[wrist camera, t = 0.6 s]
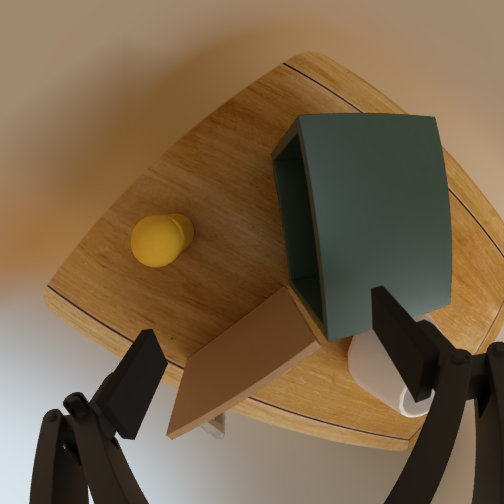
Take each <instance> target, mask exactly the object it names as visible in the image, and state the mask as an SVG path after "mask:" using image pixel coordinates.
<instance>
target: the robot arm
mask: <svg viewBox="0 0 504 504" xmlns="http://www.w3.org/2000/svg"><path fill="white" fill-rule="evenodd" d="M371 301H372V329H373V330H374V332H375V334H376V335H377V337H378V339H379V340H380V342H381V343H382V345H383V347H384V348H385V350H386V352H387V353H388V355H389V357H390V359H391V360H392V362H393V364H394V365H395V367H396V369H397V371H398V372H399V374H400V376H401V378H402V379H403V381H404V383H405V385H406V386H407V388H408V390H409V392H410V394H411V395H412V397H413V399H414V401H415V403H418V402H420V401H423V400H425V399H428V398H430V397H431V393H432V389H433V390H434V391H435V395H434V398H433V400H432V403H431V406H430V409H429V412H428V414H427V417H426V420H425V422H424V425H423V427H422V430H421V432H420V435H419V437H418V439H417V441H416V444H415V446H414V448H413V450H412V453H411V455H410V457H409V459H408V461H407V463H406V465H405V467H404V469H403V471H402V473H401V475H400V476H399V478H398V480H397V482H396V484H395V485H394V487H393V489H392V491H391V492H390V494H389V496H388V497H387V499H386V501H385V502H384V504H430V503H431V501H432V498H433V497H434V494H435V492H436V490H437V488H438V486H439V483H440V481H441V478H442V476H443V473H444V471H445V468H446V466H447V463H448V460H449V457H450V455H451V452H452V449H453V446H454V443H455V440H456V436H457V433H458V430H459V426H460V422H461V419H462V415H463V411H464V407H465V402H466V400H471V399H474V406H475V423H476V464H475V479H474V490H473V498H472V504H504V343H503V342H494V343H492V344H490V345H489V347H488V348H487V352H486V353H483V354H478V355H471V353H470V352H468V351H467V350H463V349H456V348H455V347H454V346H453V345H452V344H451V343H450V342H449V340H448V339H447V338H446V337H445V336H444V335H443V334H442V333H441V332H440V331H439V330H438V328H437V327H436V326H435V325H434V324H433V323H431V322H429V321H427V320H425V319H424V320H421V321H418V322H416V321H415V320H414V319H413V318H412V317H411V316H410V315H409V314H408V312H407V311H406V310H405V309H404V308H403V307H402V306H401V305H400V304H399V302H398V301H397V300H396V299H395V298H394V297H393V296H392V295H391V294H390V293H389V292H388V290H387V289H386V288H385V287H384V286H379V287H375V288H371ZM167 365H168V363H167V360H166V358H165V356H164V354H163V352H162V350H161V347H160V345H159V343H158V341H157V338H156V336H155V334H154V331H153V329H147V330H142V331H141V332H140V334H139V335H138V337H137V338H136V340H135V341H134V343H133V344H132V346H131V347H130V348H129V350H128V351H127V353H126V354H125V356H124V357H123V359H122V361H121V362H120V363H119V365H118V366H117V368H116V369H115V371H114V372H112V373H111V374H109V375H108V376H107V377H106V378H105V379H104V381H103V383H102V385H100V387H99V388H98V389H99V390H97V392H96V393H95V394H94V396H93V398H92V399H91V401H90V402H88V401H87V399H86V398H85V396H84V395H83V393H80V392H75V393H72V394H70V395H68V396H67V397H66V398H65V400H64V402H63V405H64V407H65V408H66V409H67V411H68V412H69V414H70V415H63V414H62V413H61V411H60V410H59V409H52V410H50V411H48V412H47V413H46V414H45V416H44V418H43V421H42V425H41V429H40V434H39V439H38V444H37V449H36V454H35V460H34V467H33V473H32V481H31V490H30V502H29V504H89V497H88V486H89V489H90V492H91V495H92V498H93V501H94V504H149V503H148V501H147V500H146V498H145V496H144V494H143V492H142V491H141V489H140V487H139V485H138V483H137V481H136V479H135V477H134V475H133V473H132V471H131V469H130V467H129V465H128V463H127V461H126V459H125V456H124V454H123V452H122V450H121V447H120V445H119V443H118V440H117V439H116V438H115V437H114V436H115V433H116V432H118V433H119V435H120V436H121V437H122V438H123V439H132V440H135V437H136V435H137V433H138V430H139V428H140V426H141V423H142V421H143V419H144V416H145V414H146V412H147V410H148V407H149V405H150V403H151V400H152V398H153V396H154V394H155V391H156V389H157V387H158V385H159V382H160V380H161V378H162V376H163V374H164V371H165V369H166V367H167ZM63 446H64V447H65V449H64V447H63Z"/></svg>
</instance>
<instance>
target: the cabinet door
mask: <svg viewBox="0 0 504 504" xmlns="http://www.w3.org/2000/svg"><path fill="white" fill-rule="evenodd" d="M320 347H321V345H320V343H319V341H318V340H317V338H316V336H315V335H314V333H313V331H312V330H311V328H310V326H309V325H308V323H307V321H306V320H305V318H304V316H303V315H302V313H301V311H300V310H299V308H298V306H297V305H296V303H295V302H294V300H293V298H292V297H291V295H290V293H289V292H288V290H287V289H286V288H285V286H283V287H281V288H280V289H279V290H278V291H276V292H275V293H274V294H273V295H271V296H270V297H269V298H267V299H266V300H265V301H264V302H262V303H261V304H260V305H259V306H257V307H256V308H255V309H253V310H252V311H251V312H249V313H248V314H247V315H246V316H244V317H243V318H242V319H240V320H239V321H238V322H236V323H235V324H234V325H232V326H231V327H230V328H228V329H227V330H226V331H224V332H223V333H222V334H220V335H219V336H218V337H216V338H215V339H214V340H212V341H211V342H210V343H208V344H207V345H206V346H204V347H203V348H201V349H200V350H199V351H197V352H196V353H195V354H193V355H192V356H190V357H189V358H188V359H187V362H186V365H185V369H184V372H183V376H182V379H181V383H180V386H179V390H178V394H177V397H176V400H175V404H174V408H173V411H172V415H171V419H170V422H169V426H168V430H167V434H166V435H167V436H168V437H169V438H171V439H172V440H173V439H175V438H177V437H179V436H180V435H183V434H185V433H187V432H188V431H190V430H192V429H194V428H196V427H198V426H200V427H201V428H202V429H204V430H205V431H207V432H208V433H209V434H211V435H212V436H213V437H215V438H217V439H222V438H224V436H225V411H226V410H228V409H230V408H232V407H233V406H235V405H237V404H238V403H240V402H242V401H243V400H245V399H246V398H248V397H250V396H251V395H253V394H254V393H256V392H257V391H259V390H261V389H262V388H264V387H265V386H267V385H268V384H270V383H271V382H273V381H274V380H276V379H277V378H279V377H280V376H282V375H283V374H284V373H286V372H287V371H289V370H290V369H292V368H293V367H294V366H296V365H297V364H299V363H300V362H301V361H303V360H304V359H305V358H307V357H308V356H310V355H311V354H312V353H314V352H315V351H316V350H318V349H319V348H320ZM213 418H214V419H213Z"/></svg>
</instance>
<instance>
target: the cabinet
mask: <svg viewBox="0 0 504 504" xmlns="http://www.w3.org/2000/svg"><path fill="white" fill-rule="evenodd" d="M271 158H272V164H273V170H274V176H275V182H276V188H277V195H278V201H279V207H280V214H281V220H282V227H283V234H284V241H285V248H286V255H287V262H288V269H289V277H290V284H291V287H292V289H293V290H294V292H295V293H296V295H297V296H298V298H299V299H300V301H301V302H302V304H303V305H304V307H305V308H306V310H307V311H308V313H309V314H310V316H311V317H312V319H313V320H314V322H315V323H316V325H317V326H318V328H319V329H320V330H321V332H322V333H323V335H324V336H325V338H326V339H327V341H328V342H329V341H333V340H338V339H342V338H346V337H349V336H353V335H357V334H361V333H364V332H368V331H371V330H373V329H372V301H371V288H375V287H379V286H384V287H385V288H386V289H387V290H388V292H389V293H390V294H391V295H392V296H393V297H394V298H395V299H396V300H397V301H398V302H399V304H400V305H401V306H402V307H403V308H404V309H405V310H406V311H407V312H408V314H409V315H410V316H411V317H412V318H414V317H417V316H420V315H422V314H425V313H428V312H431V311H434V310H437V309H439V308H442V307H445V306H447V305H450V300H451V282H452V232H451V215H450V202H449V193H448V184H447V177H446V170H445V163H444V157H443V152H442V146H441V142H440V137H439V132H438V128H437V123H436V119H435V117H430V116H420V115H406V114H386V113H329V114H308V115H298V117H297V118H296V120H295V121H294V122H293V124H292V125H291V126H290V128H289V129H288V131H287V132H286V134H285V135H284V136H283V138H282V139H281V141H280V142H279V143H278V145H277V146H276V148H275V149H274V151H273V152H272V153H271Z"/></svg>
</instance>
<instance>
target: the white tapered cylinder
mask: <svg viewBox="0 0 504 504" xmlns="http://www.w3.org/2000/svg"><path fill="white" fill-rule="evenodd" d="M413 319H414V320H415V321H416V322H418V321H421V320H424V319H425V320H427V321H429V322H431V323H433V324H434V325H435V326H436V327H437V328H438V330H439V331H440V332H441V333H442V334H443V332H442V331H441V329H440V328H439V327H438V325H437V324H436V323H435V321H434V320H433V318H432V317H431V316H430V315H429V314H428V313H425V314H422V315H420V316H417V317H414V318H413ZM443 335H444V334H443ZM444 336H445V335H444ZM445 337H446V336H445ZM348 369H349V372H350V374H351V375H352V377H353V379H354V380H355V382H356V383H357V384H358V385H359V386H360V387H361V388H363V389H364V390H366V391H367V392H369V393H370V394H372V395H373V396H375V397H376V398H378V399H379V400H381V401H382V402H384V403H385V404H387V405H388V406H390V407H391V408H393V409H394V410H396V411H397V412H399V413H401V414H402V415H404V416H407V417H409V418H411V417H418V416H422V415H424V414H426V413H428V412H429V409H430V406H431V403H432V400H433V398H434V395H435V391H434V390H433V389H432V393H431V397H430V398H428V399H425V400H423V401H420V402H418V403H415V401H414V399H413V397H412V395H411V394H410V392H409V390H408V388H407V386H406V385H405V383H404V381H403V379H402V378H401V376H400V374H399V372H398V371H397V369H396V367H395V365H394V364H393V362H392V360H391V359H390V357H389V355H388V353H387V352H386V350H385V348H384V347H383V345H382V343H381V342H380V340H379V339H378V337H377V335H376V334H375V332H374V330H371V331H368V332H364V333H361V334H357V335H353V338H352V341H351V344H350V347H349V350H348Z"/></svg>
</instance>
